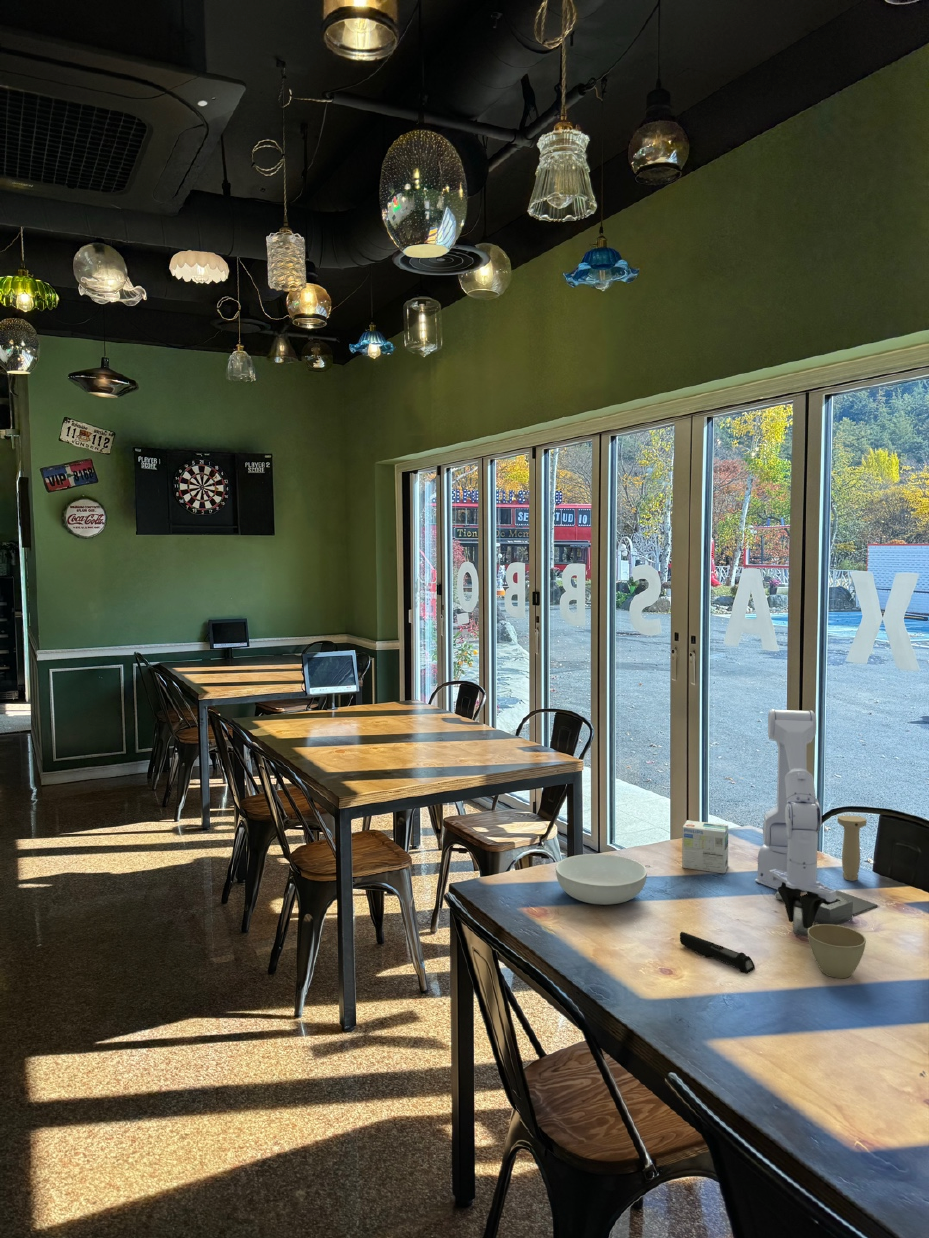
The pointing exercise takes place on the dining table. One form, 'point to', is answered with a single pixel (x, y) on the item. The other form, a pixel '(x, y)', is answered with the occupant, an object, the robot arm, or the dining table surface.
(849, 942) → the flower pot
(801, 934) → the spice shaker
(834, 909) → the grey hollow block
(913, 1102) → the dining table surface
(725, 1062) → the dining table surface
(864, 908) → the mat
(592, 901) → the serving bowl
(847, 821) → the handle
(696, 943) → the electric trimmer
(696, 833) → the light bulb box
